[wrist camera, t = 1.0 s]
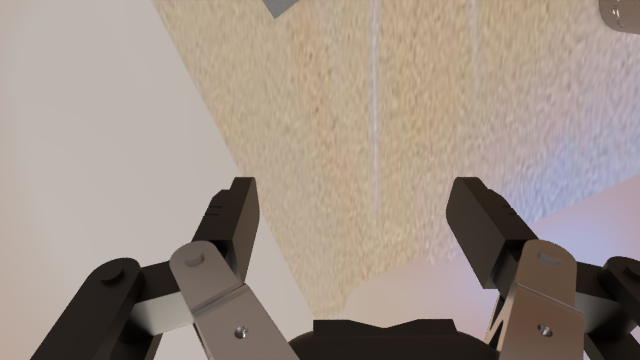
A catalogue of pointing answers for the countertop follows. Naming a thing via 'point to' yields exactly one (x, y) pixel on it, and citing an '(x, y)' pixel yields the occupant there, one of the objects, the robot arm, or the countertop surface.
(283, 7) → the bolt plate
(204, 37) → the countertop surface
